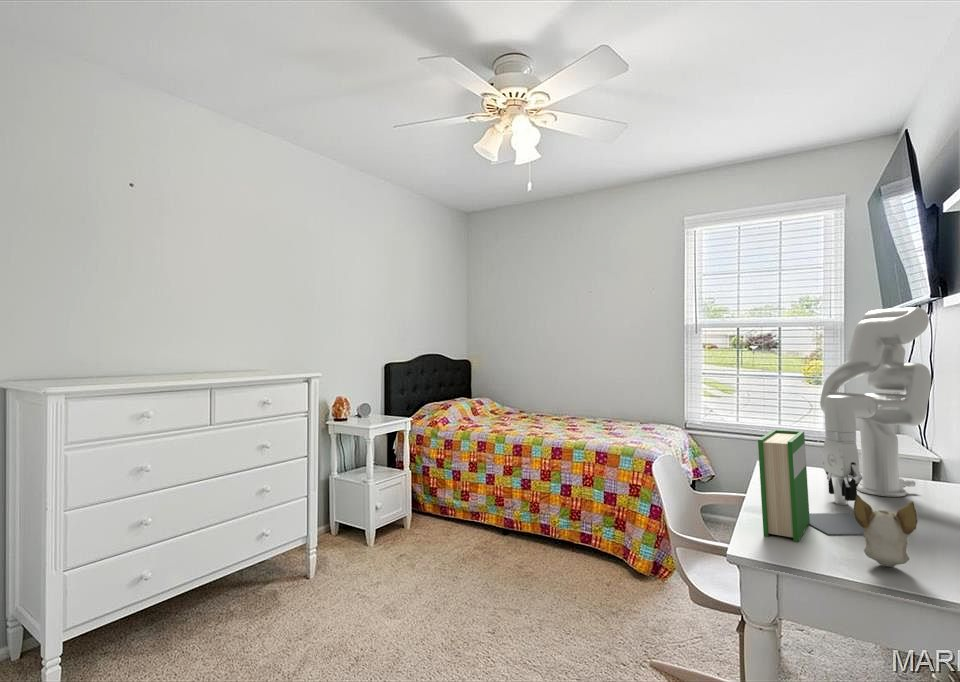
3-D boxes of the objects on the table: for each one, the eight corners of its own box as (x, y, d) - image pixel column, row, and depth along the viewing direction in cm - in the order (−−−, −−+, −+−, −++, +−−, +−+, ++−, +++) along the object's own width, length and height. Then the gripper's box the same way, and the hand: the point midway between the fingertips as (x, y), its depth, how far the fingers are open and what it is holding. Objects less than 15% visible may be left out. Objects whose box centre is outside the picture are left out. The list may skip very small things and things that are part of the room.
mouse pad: (863, 514, 144) (863, 512, 144) (910, 534, 128) (910, 532, 128) (791, 515, 144) (790, 513, 144) (828, 535, 128) (828, 533, 128)
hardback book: (797, 542, 124) (791, 441, 124) (763, 536, 129) (757, 439, 129) (809, 521, 137) (804, 431, 138) (778, 516, 142) (772, 429, 143)
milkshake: (857, 506, 151) (855, 472, 151) (836, 505, 152) (835, 471, 152) (849, 501, 155) (848, 468, 156) (829, 501, 156) (828, 468, 157)
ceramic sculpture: (918, 566, 109) (915, 495, 110) (920, 581, 103) (917, 505, 103) (856, 555, 116) (853, 488, 116) (854, 568, 109) (852, 497, 109)
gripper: (810, 432, 163) (811, 489, 162) (847, 441, 146) (850, 505, 145) (834, 432, 163) (836, 489, 162) (874, 441, 145) (877, 505, 145)
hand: (842, 496), depth 154 cm, fingers open, 6 cm apart
